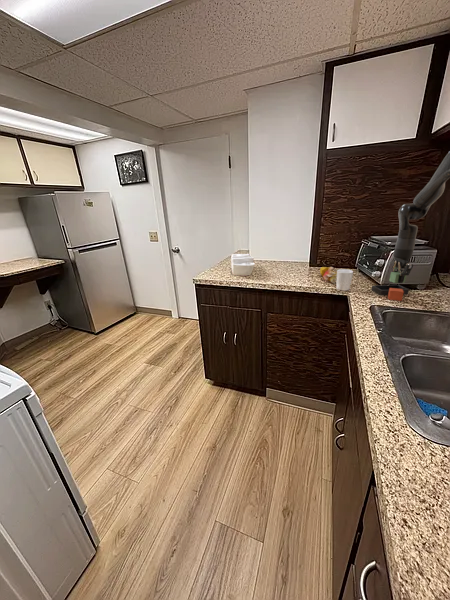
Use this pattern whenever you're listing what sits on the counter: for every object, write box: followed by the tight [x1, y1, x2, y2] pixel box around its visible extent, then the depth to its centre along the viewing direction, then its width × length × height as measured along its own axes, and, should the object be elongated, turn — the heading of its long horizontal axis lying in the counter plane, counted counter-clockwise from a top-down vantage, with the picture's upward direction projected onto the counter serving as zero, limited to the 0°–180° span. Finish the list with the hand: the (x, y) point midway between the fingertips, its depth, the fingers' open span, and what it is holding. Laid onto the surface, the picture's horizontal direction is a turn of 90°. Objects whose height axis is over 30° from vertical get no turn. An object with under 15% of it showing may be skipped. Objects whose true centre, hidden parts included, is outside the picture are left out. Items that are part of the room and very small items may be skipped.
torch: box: [319, 266, 337, 285], centre depth 152 cm, size 8×8×25 cm
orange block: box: [387, 288, 404, 302], centre depth 118 cm, size 5×4×5 cm
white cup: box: [335, 268, 354, 292], centre depth 133 cm, size 8×8×10 cm
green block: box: [389, 271, 407, 284], centre depth 125 cm, size 5×4×5 cm
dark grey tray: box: [370, 284, 410, 296], centre depth 127 cm, size 14×8×2 cm, turn 91°
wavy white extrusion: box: [230, 253, 256, 276], centre depth 179 cm, size 35×16×11 cm, turn 178°
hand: (396, 281), depth 126 cm, fingers closed on green block, 4 cm apart
